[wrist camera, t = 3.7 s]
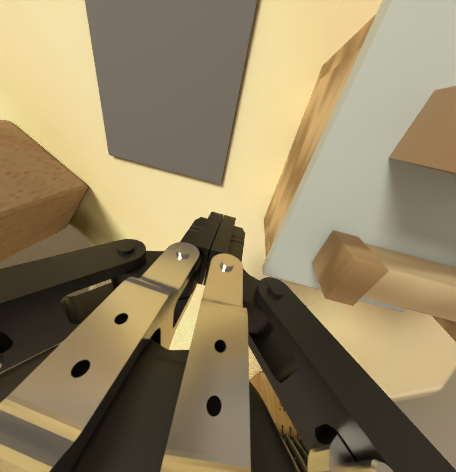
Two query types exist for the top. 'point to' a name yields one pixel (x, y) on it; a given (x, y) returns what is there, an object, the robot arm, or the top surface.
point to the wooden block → (32, 192)
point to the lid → (384, 149)
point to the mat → (170, 79)
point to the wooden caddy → (318, 138)
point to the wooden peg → (384, 277)
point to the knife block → (282, 423)
